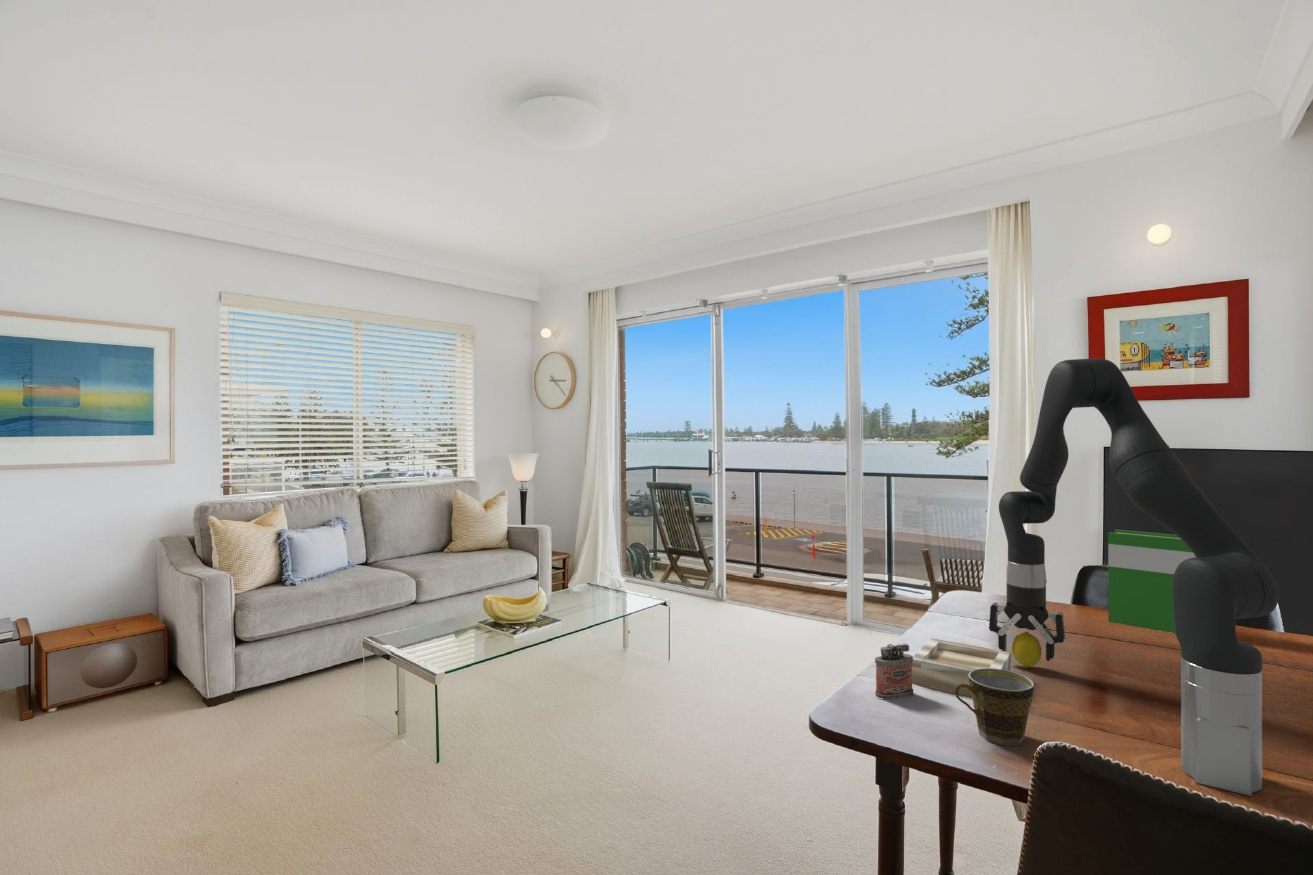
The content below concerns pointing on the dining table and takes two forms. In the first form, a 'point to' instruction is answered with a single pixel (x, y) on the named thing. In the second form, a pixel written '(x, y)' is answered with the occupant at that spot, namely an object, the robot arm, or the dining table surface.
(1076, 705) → the dining table surface
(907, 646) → the lighter
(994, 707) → the ceramic cup
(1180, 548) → the green striped box
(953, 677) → the birch base
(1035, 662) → the lemon
